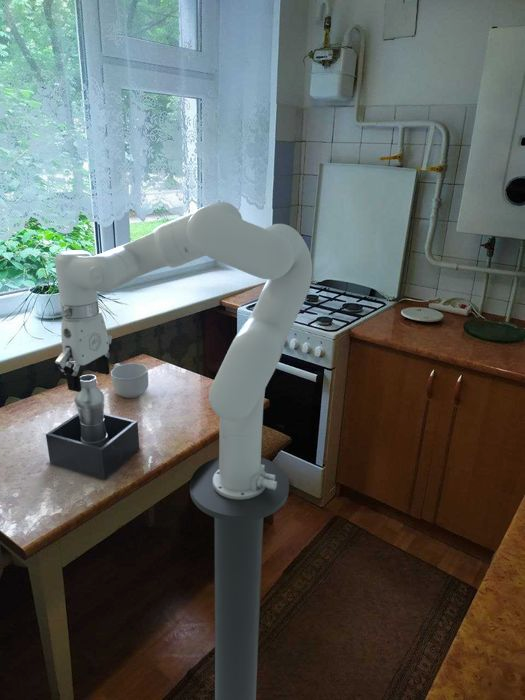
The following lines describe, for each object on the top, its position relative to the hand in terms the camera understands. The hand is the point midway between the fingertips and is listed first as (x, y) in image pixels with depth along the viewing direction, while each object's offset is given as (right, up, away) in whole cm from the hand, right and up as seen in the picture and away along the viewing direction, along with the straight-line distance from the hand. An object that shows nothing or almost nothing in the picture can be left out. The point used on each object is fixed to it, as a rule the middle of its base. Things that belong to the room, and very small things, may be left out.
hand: (89, 381), depth 112 cm
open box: (-1, -19, +8) cm, 20 cm away
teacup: (-2, -6, +40) cm, 40 cm away
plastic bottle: (-1, -18, +7) cm, 19 cm away
